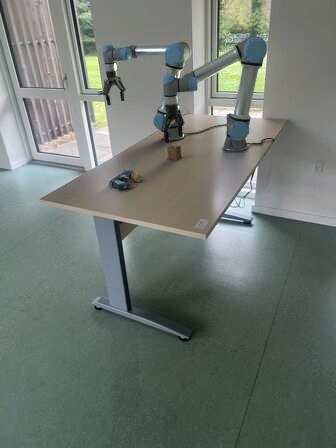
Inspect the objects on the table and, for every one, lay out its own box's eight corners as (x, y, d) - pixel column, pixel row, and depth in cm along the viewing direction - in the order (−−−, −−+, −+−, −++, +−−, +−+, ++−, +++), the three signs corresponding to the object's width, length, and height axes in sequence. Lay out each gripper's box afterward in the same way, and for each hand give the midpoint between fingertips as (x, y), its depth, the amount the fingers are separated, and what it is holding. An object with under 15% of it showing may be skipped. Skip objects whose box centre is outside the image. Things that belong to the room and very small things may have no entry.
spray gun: (148, 176, 189) (126, 173, 196) (147, 169, 187) (125, 167, 194) (129, 192, 174) (105, 189, 180) (127, 185, 172) (104, 182, 178)
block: (172, 156, 216) (172, 143, 211) (181, 157, 212) (180, 145, 208) (168, 158, 212) (167, 146, 208) (176, 160, 209) (175, 147, 204)
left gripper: (120, 67, 238) (124, 99, 249) (93, 73, 221) (99, 106, 232) (127, 68, 233) (131, 99, 244) (101, 73, 217) (106, 107, 228)
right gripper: (178, 98, 205) (181, 133, 216) (152, 108, 189) (156, 144, 200) (188, 99, 201) (190, 134, 212) (162, 109, 185) (166, 146, 196)
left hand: (116, 103), depth 238 cm, fingers open, 13 cm apart
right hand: (174, 139), depth 206 cm, fingers open, 13 cm apart
